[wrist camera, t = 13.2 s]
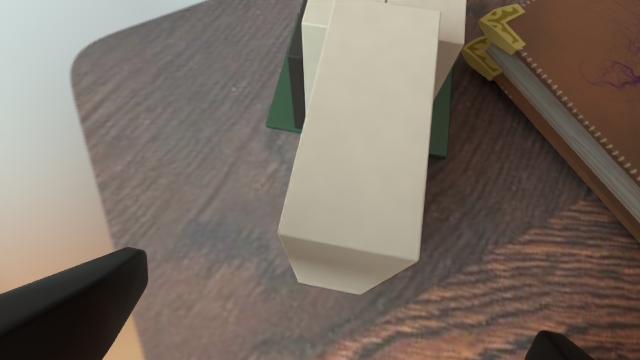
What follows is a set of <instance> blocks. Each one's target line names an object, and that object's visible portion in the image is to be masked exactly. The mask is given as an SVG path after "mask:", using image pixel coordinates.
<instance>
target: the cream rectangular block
mask: <svg viewBox="0 0 640 360" xmlns="http://www.w3.org/2000/svg"><path fill="white" fill-rule="evenodd" d="M440 19H441V12H440V11H437V10H431V9H424V8H417V7H411V6H404V5H398V4H391V3H385V2H378V1H372V0H334V3H333V7H332V11H331V15H330V19H329V23H328V27H327V31H326V35H325V39H324V43H323V48H322V52H321V56H320V60H319V64H318V68H317V72H316V76H315V80H314V84H313V88H312V93H311V97H310V101H309V105H308V109H307V113H306V117H305V121H304V125H303V129H302V133H301V137H300V142H299V146H298V150H297V154H296V158H295V162H294V166H293V170H292V174H291V178H290V182H289V187H288V191H287V195H286V199H285V203H284V207H283V211H282V215H281V219H280V223H279V227H278V235H279V237H280V240H281V242H282V244H283V247H284V249H285V252H286V254H287V256H288V259H289V261H290V263H291V266H292V268H293V270H294V273H295V275H296V277H297V280H298V282H299V283H304V284H309V285H314V286H318V287H323V288H328V289H333V290H338V291H343V292H348V293H353V294H358V295H361V294H363V293H364V292H366V291H368V290H370V289H371V288H373V287H375V286H376V285H378V284H380V283H382V282H383V281H385V280H387V279H388V278H390V277H392V276H394V275H395V274H397V273H399V272H401V271H402V270H404V269H406V268H407V267H409V266H411V265H413V264H414V263H416V262H418V261H419V257H420V245H421V234H422V223H423V211H424V200H425V189H426V178H427V166H428V155H429V144H430V132H431V121H432V110H433V98H434V87H435V76H436V65H437V53H438V42H439V31H440Z"/></svg>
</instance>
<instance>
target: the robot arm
mask: <svg viewBox="0 0 640 360" xmlns="http://www.w3.org/2000/svg"><path fill="white" fill-rule="evenodd" d="M147 283H148V267H147V255H146V252H145V251H144V250H141V249H136V248H131V247H126V248H123V249H120V250H118V251H115V252H112V253H110V254H107V255H105V256H102V257H99V258H96V259H93V260H91V261H88V262H85V263H83V264H80V265H77V266H75V267H72V268H69V269H67V270H64V271H61V272H58V273H56V274H53V275H51V276H48V277H45V278H43V279H40V280H37V281H34V282H32V283H29V284H26V285H23V286H21V287H18V288H15V289H13V290H10V291H8V292H5V293H2V294H0V360H102V359H103V357H104V356H105V354H106V353H107V352H108V350H109V349H110V347H111V346H112V344H113V342H114V341H115V339H116V338H117V336H118V334H119V333H120V331H121V329H122V327H123V326H124V324H125V322H126V321H127V319H128V317H129V316H130V314H131V312H132V311H133V309H134V307H135V305H136V304H137V302H138V300H139V299H140V297H141V295H142V294H143V292H144V290H145V288H146V286H147ZM525 360H594V359H593V358H592V357H591V356H589V355H588V354H587V353H585V352H584V351H583V350H582V349H580V348H579V347H578V346H577V345H575V344H574V343H573V342H572V341H570V340H569V339H568V338H567V337H565V336H564V335H562V334H560V333H555V332H550V331H545V330H544V331H540V332H539V333H538V334H537V335H536V337H535V339H534V341H533V343H532V345H531V347H530V349H529V351H528V353H527V354H526V357H525Z"/></svg>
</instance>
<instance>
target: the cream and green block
mask: <svg viewBox="0 0 640 360" xmlns="http://www.w3.org/2000/svg"><path fill="white" fill-rule="evenodd" d="M372 1H378V2H385V3H391V4H398V5H404V6H411V7H417V8H424V9H431V10H437V11H440V12H441V19H440V31H439V42H438V53H437V65H436V76H435V87H434V98H433V110H432V121H431V132H430V144H429V155H428V156H432V157H437V158H443V159H446V157H447V149H448V134H449V118H450V102H451V87H452V71H453V64H454V62H455V60H456V58H457V57H458V55H459V53H460V51H461V49H462V47H463V45H464V38H465V18H466V0H372ZM333 3H334V0H303V3H302V6H301V10H300V13H298V15H297V19H296V22H295V26H294V29H293V33H292V36H291V39H290V43H289V46H288V50H287V53H286V57H285V60H284V64H283V67H282V71H281V74H280V78H279V81H278V85H277V88H276V91H275V95H274V98H273V102H272V105H271V109H270V112H269V116H268V119H267V123H266V127H268V128H273V129H279V130H285V131H290V132H296V133H302V129H303V125H304V121H305V117H306V113H307V109H308V105H309V101H310V97H311V93H312V88H313V84H314V80H315V76H316V72H317V68H318V64H319V60H320V56H321V52H322V48H323V43H324V39H325V35H326V31H327V27H328V23H329V19H330V15H331V11H332V7H333Z"/></svg>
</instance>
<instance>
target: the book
mask: <svg viewBox="0 0 640 360" xmlns="http://www.w3.org/2000/svg"><path fill="white" fill-rule="evenodd" d="M478 24H479V26H480V28H481V29H482V31H483V33H484V35H485V36H482V37H478V38H475V39H474V40H472V41H471V42H469V43H468V44H466V45H465V46H463V47H462V49H461V53H462V55H463V56H464V58H465V60H466V62H467V63H468V65H470V66H471V67H472V68H474V69H475V70H476V71H478V72H479V73H480V74H481V75H483V76H484V77H485V78H487V79H488V80H489V81H491V80H494V81H495V82H496V83H497V84H498V85H499V86H500V88H501V89H502V90H503V91H504V92H505V93H506V94H507V95H508V96H509V98H510V99H511V100H512V101H513V102H514V103H515V104H516V105H517V107H518V108H519V109H520V110H521V111H522V112H523V113H524V114H525V116H526V117H527V118H528V119H529V120H530V121H531V122H532V123H533V124H534V126H535V127H536V128H537V129H538V130H539V131H540V132H541V133H542V135H543V136H544V137H545V138H546V139H547V140H548V141H549V142H550V143H551V145H552V146H553V147H554V148H555V149H556V150H557V151H558V152H559V154H560V155H561V156H562V157H563V158H564V159H565V160H566V161H567V163H568V164H569V165H570V166H571V167H572V168H573V169H574V170H575V171H576V173H577V174H578V175H579V176H580V177H581V178H582V179H583V180H584V182H585V183H586V184H587V185H588V186H589V187H590V188H591V189H592V191H593V192H594V193H595V194H596V195H597V196H598V197H599V198H600V199H601V201H602V202H603V203H604V204H605V205H606V206H607V207H608V208H609V210H610V211H611V212H612V213H613V214H614V215H615V216H616V217H617V219H618V220H619V221H620V222H621V223H622V224H623V225H624V226H625V227H626V229H627V230H628V231H629V232H630V233H631V234H632V235H633V236H634V238H635V239H636V240H637V241H638V242H639V243H640V0H529V1H527V2H525V3H523V4H521V5H519V4H518V3H517V4H512V5H508V6H504V7H500V8H496V9H494V10H492V11H491V12H489V13H488V14H486V15H485V16H483V17H482V18H481V19H479V20H478Z"/></svg>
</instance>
